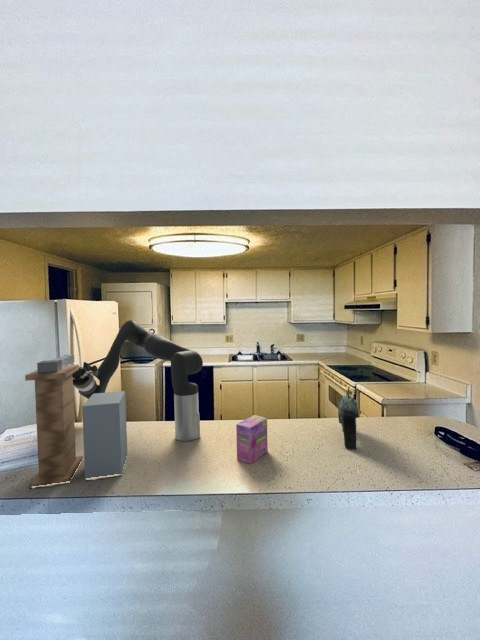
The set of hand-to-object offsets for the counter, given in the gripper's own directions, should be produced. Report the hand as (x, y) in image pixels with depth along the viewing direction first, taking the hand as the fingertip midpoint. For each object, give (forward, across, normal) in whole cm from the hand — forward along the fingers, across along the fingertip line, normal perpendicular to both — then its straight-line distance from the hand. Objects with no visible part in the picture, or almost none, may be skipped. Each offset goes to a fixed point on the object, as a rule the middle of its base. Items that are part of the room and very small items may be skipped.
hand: (71, 365), depth 108 cm
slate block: (-1, +14, +35) cm, 37 cm away
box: (+4, +60, +38) cm, 71 cm away
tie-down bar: (+11, 0, +5) cm, 12 cm away
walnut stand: (-1, 0, +35) cm, 35 cm away
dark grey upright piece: (+2, +97, +37) cm, 104 cm away
